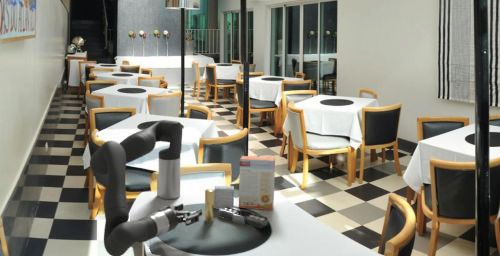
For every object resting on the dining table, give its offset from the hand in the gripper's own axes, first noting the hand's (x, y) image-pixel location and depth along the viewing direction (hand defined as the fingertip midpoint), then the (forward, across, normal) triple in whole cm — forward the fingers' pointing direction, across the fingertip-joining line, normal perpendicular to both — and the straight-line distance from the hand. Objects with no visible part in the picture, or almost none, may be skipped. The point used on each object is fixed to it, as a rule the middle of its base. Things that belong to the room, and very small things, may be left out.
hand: (191, 209), depth 160 cm
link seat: (+18, +10, -8) cm, 22 cm away
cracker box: (+34, +6, -8) cm, 36 cm away
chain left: (+18, +4, -8) cm, 20 cm away
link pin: (+10, 0, -8) cm, 13 cm away
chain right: (+18, +16, -8) cm, 26 cm away
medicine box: (+25, -4, -8) cm, 27 cm away
